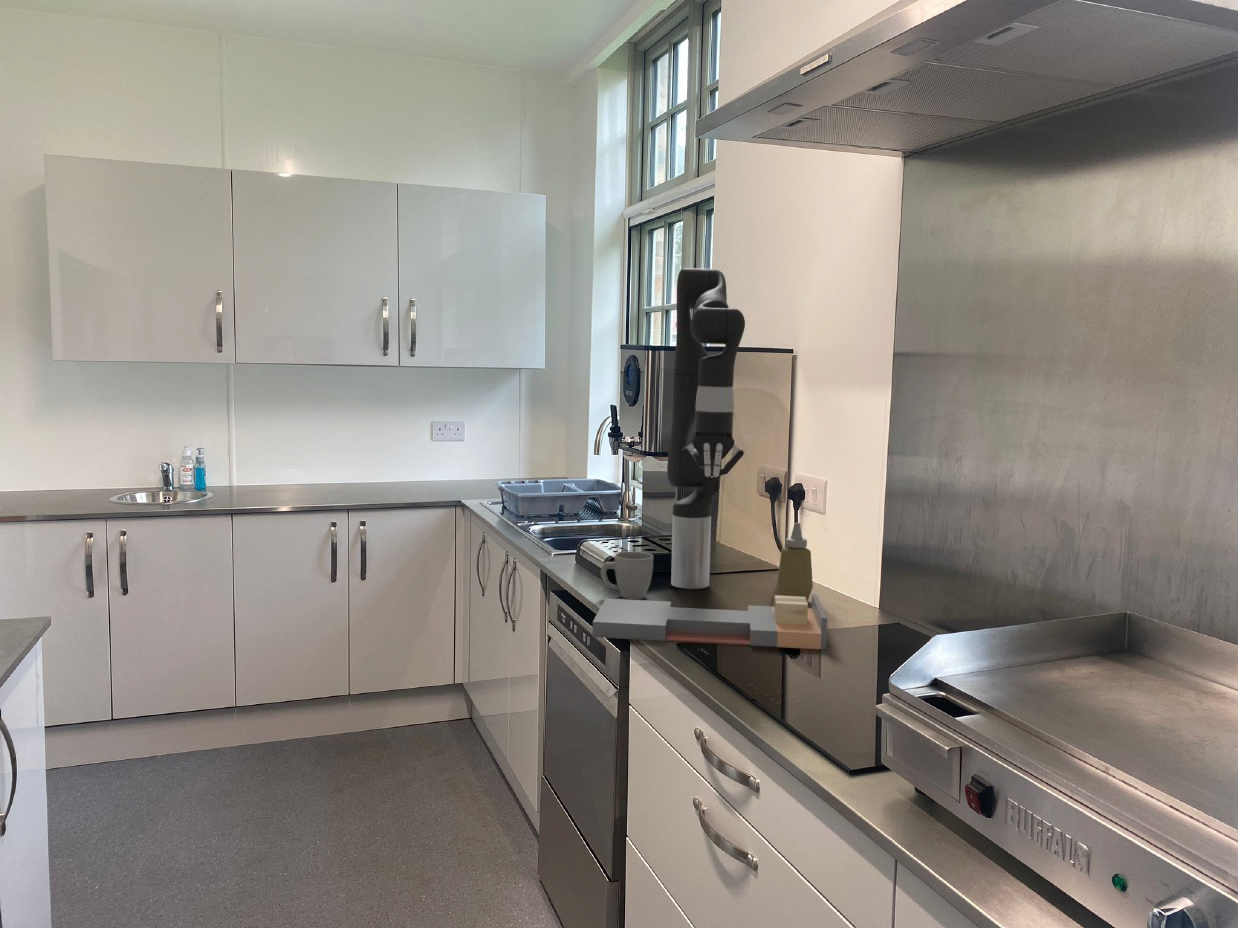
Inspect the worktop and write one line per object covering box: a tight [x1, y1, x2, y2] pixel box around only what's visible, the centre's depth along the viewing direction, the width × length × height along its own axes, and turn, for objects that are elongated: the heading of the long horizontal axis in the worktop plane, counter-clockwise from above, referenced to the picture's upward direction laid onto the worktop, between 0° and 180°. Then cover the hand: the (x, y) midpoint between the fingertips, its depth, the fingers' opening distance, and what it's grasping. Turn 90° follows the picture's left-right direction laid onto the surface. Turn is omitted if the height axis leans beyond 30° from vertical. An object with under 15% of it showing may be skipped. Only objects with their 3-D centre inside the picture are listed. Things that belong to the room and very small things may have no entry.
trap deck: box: [592, 593, 828, 650], centre depth 171 cm, size 18×44×6 cm, turn 83°
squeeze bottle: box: [776, 522, 814, 602], centre depth 194 cm, size 8×8×18 cm
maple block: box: [773, 595, 809, 625], centre depth 168 cm, size 6×6×4 cm
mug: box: [600, 551, 654, 600], centre depth 196 cm, size 12×9×10 cm
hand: (711, 494), depth 174 cm, fingers closed
